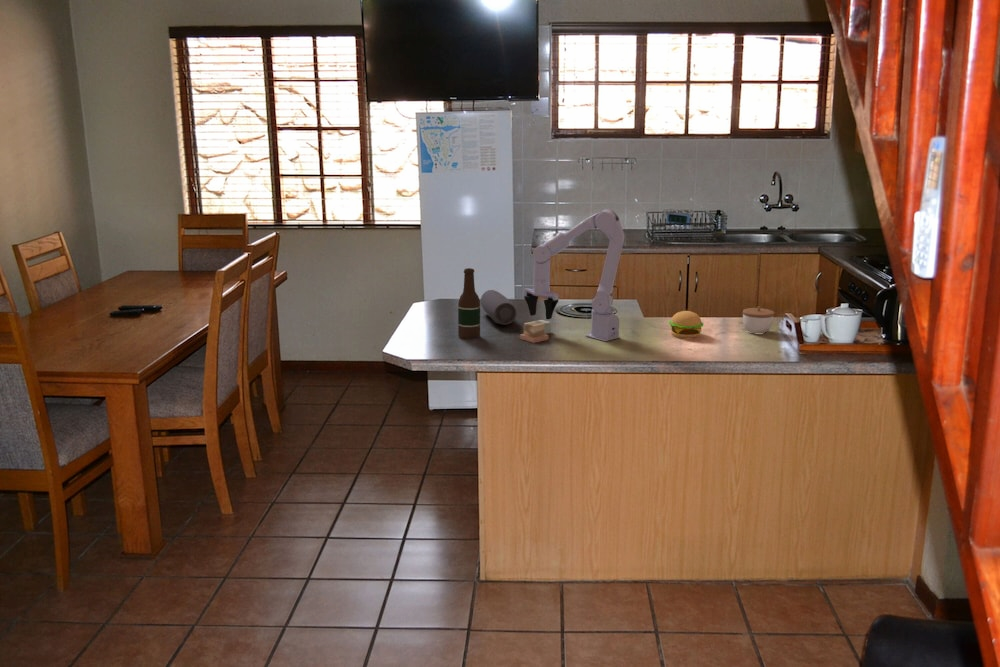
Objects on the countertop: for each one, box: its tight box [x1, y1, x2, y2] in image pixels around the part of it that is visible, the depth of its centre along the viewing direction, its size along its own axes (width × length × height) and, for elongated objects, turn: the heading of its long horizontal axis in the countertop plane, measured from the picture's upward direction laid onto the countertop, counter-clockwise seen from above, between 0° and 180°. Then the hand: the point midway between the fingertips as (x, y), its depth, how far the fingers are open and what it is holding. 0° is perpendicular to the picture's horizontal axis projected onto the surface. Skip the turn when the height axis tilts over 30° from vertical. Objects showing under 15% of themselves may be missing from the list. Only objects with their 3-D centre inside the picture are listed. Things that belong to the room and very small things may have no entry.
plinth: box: [519, 333, 549, 344], centre depth 308 cm, size 7×7×2 cm
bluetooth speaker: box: [480, 289, 517, 326], centre depth 333 cm, size 23×9×10 cm, turn 14°
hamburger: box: [668, 310, 704, 339], centre depth 313 cm, size 12×12×9 cm
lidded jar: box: [742, 306, 775, 334], centre depth 318 cm, size 11×11×9 cm
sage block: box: [535, 319, 552, 335], centre depth 317 cm, size 5×5×4 cm
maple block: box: [523, 320, 544, 337], centre depth 308 cm, size 5×5×4 cm
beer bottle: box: [457, 267, 481, 340], centre depth 308 cm, size 8×8×24 cm
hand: (540, 316), depth 316 cm, fingers open, 7 cm apart
